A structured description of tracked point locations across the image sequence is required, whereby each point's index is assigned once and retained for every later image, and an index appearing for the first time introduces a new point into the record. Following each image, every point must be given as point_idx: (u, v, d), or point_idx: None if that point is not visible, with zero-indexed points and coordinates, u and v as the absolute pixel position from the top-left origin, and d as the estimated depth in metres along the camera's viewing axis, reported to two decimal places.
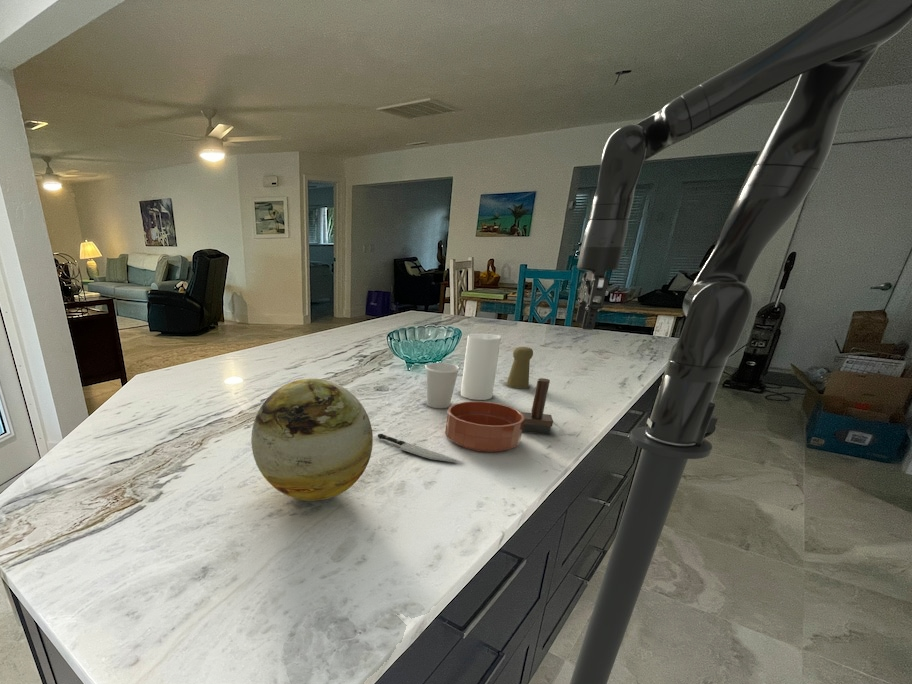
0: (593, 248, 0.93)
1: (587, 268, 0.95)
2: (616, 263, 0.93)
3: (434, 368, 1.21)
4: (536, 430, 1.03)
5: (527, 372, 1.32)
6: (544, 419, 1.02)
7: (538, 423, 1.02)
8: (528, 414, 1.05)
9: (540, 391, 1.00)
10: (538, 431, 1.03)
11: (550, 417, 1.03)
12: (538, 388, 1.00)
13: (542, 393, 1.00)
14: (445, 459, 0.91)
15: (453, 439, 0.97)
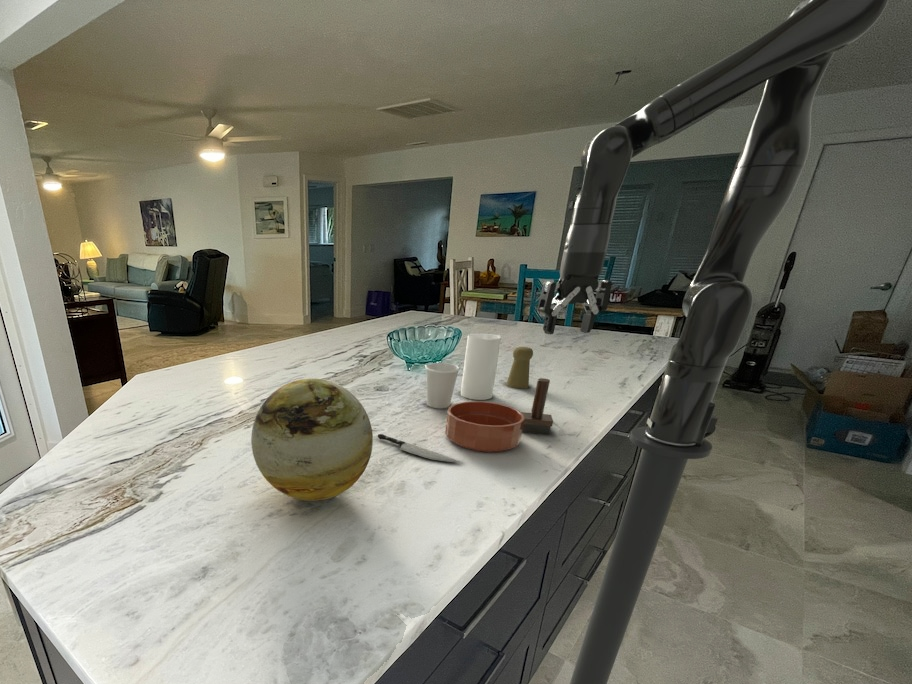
0: (563, 253, 0.94)
1: (559, 272, 0.95)
2: (578, 269, 0.91)
3: (434, 368, 1.21)
4: (536, 430, 1.03)
5: (527, 372, 1.32)
6: (544, 419, 1.02)
7: (538, 423, 1.02)
8: (528, 414, 1.05)
9: (540, 391, 1.00)
10: (538, 431, 1.03)
11: (550, 417, 1.03)
12: (538, 388, 1.00)
13: (542, 393, 1.00)
14: (445, 459, 0.91)
15: (453, 439, 0.97)
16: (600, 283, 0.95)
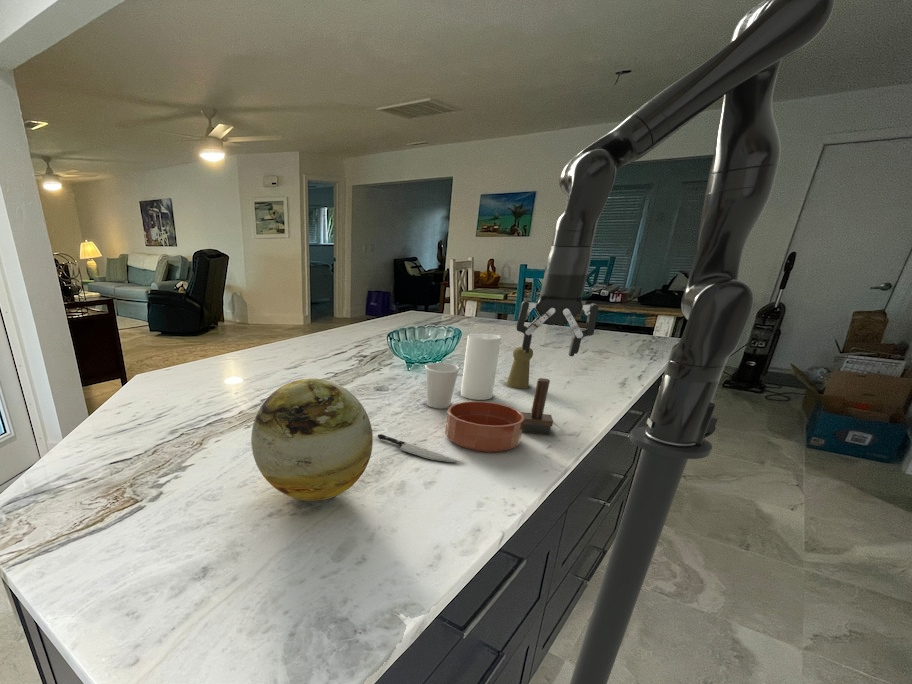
0: None
1: None
2: (549, 291, 0.91)
3: (434, 368, 1.21)
4: (536, 430, 1.03)
5: (527, 372, 1.32)
6: (544, 419, 1.02)
7: (538, 423, 1.02)
8: (528, 414, 1.05)
9: (540, 391, 1.00)
10: (538, 431, 1.03)
11: (550, 417, 1.03)
12: (538, 388, 1.00)
13: (542, 393, 1.00)
14: (445, 459, 0.91)
15: (453, 439, 0.97)
16: (586, 306, 0.92)
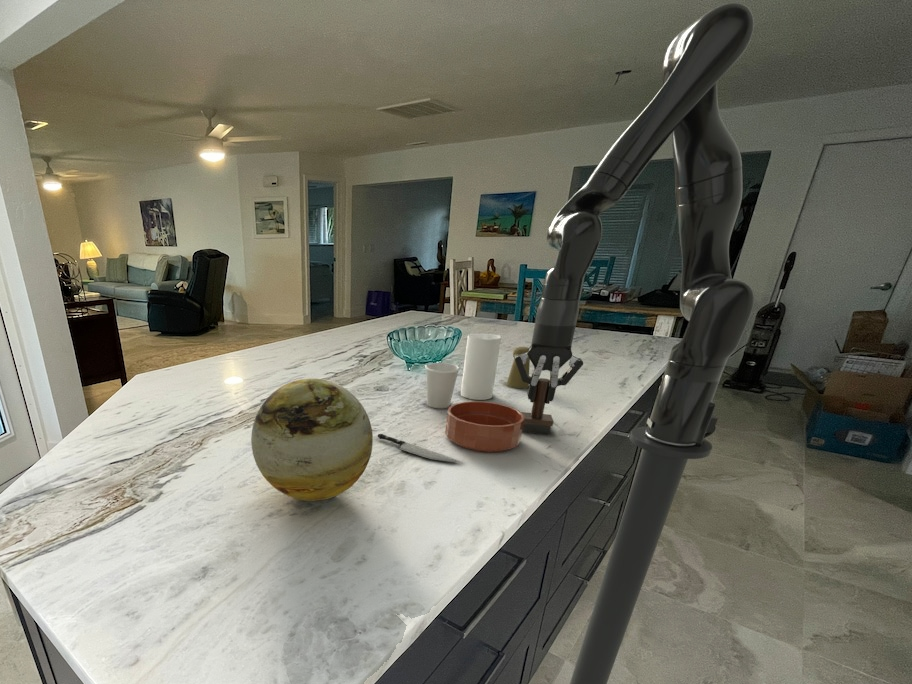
0: None
1: None
2: (540, 340, 0.95)
3: (434, 368, 1.21)
4: (536, 430, 1.03)
5: (527, 372, 1.32)
6: (544, 419, 1.02)
7: (538, 423, 1.02)
8: (528, 414, 1.05)
9: (540, 391, 1.00)
10: (538, 431, 1.03)
11: (550, 417, 1.03)
12: (538, 388, 1.00)
13: (542, 393, 1.00)
14: (445, 459, 0.91)
15: (453, 439, 0.97)
16: (574, 358, 0.96)
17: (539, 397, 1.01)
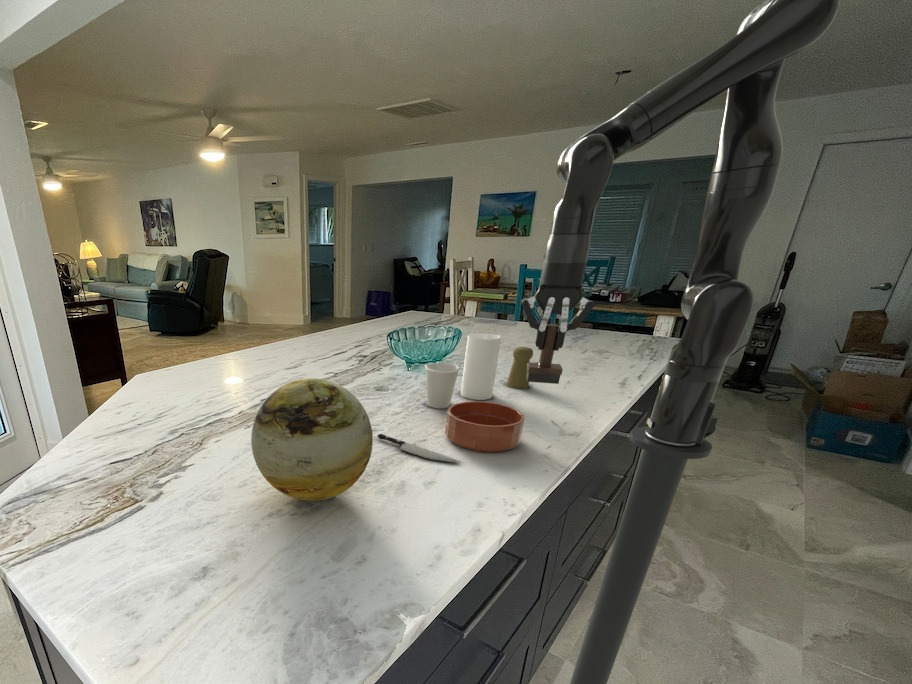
0: None
1: None
2: (548, 280, 0.90)
3: (434, 368, 1.21)
4: (545, 379, 0.98)
5: None
6: (553, 367, 0.97)
7: (547, 372, 0.97)
8: (536, 364, 1.00)
9: (549, 337, 0.95)
10: (547, 380, 0.98)
11: (559, 366, 0.98)
12: (547, 334, 0.95)
13: (551, 339, 0.95)
14: (445, 459, 0.91)
15: (453, 439, 0.97)
16: (584, 300, 0.91)
17: (548, 344, 0.96)
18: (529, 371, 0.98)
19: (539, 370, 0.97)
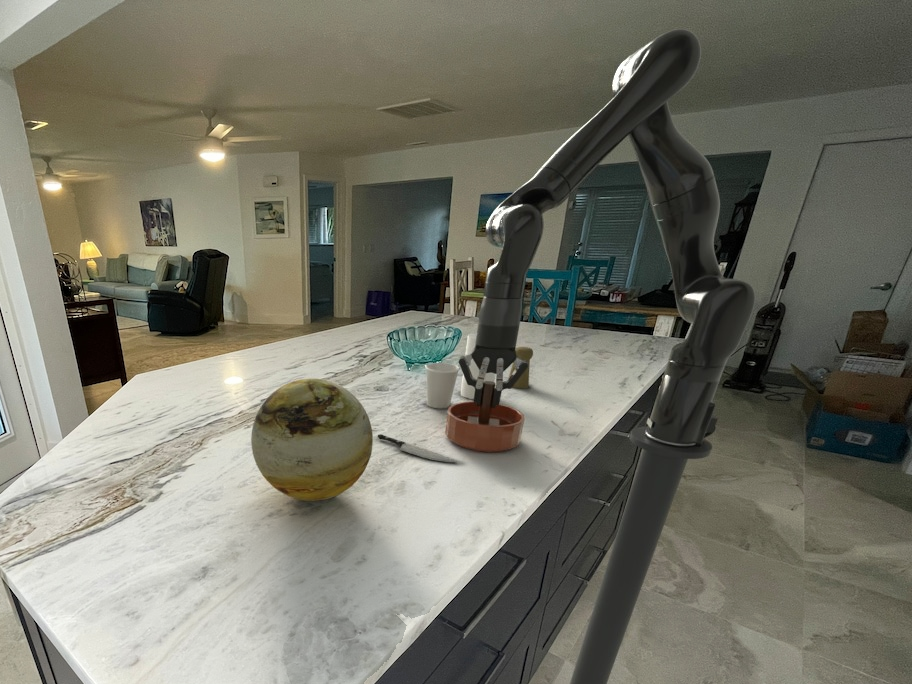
0: None
1: None
2: (482, 341, 0.90)
3: (434, 368, 1.21)
4: None
5: (527, 372, 1.32)
6: (490, 424, 0.97)
7: None
8: (475, 418, 1.00)
9: (486, 394, 0.95)
10: None
11: (497, 422, 0.98)
12: (483, 391, 0.96)
13: (487, 397, 0.95)
14: (445, 460, 0.91)
15: (453, 439, 0.97)
16: (518, 360, 0.91)
17: (484, 401, 0.96)
18: None
19: None
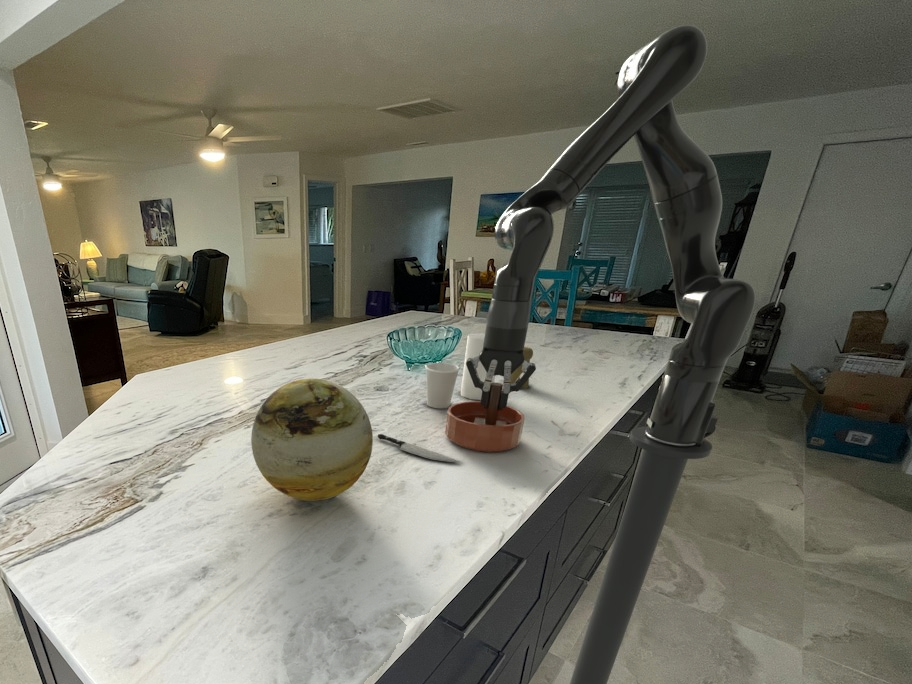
0: None
1: None
2: (490, 343, 0.90)
3: (434, 368, 1.21)
4: None
5: None
6: (497, 425, 0.97)
7: None
8: (482, 420, 1.00)
9: (493, 396, 0.95)
10: None
11: (504, 424, 0.98)
12: (490, 393, 0.95)
13: (494, 398, 0.95)
14: (445, 459, 0.91)
15: (453, 439, 0.97)
16: (526, 363, 0.91)
17: (491, 402, 0.96)
18: None
19: None
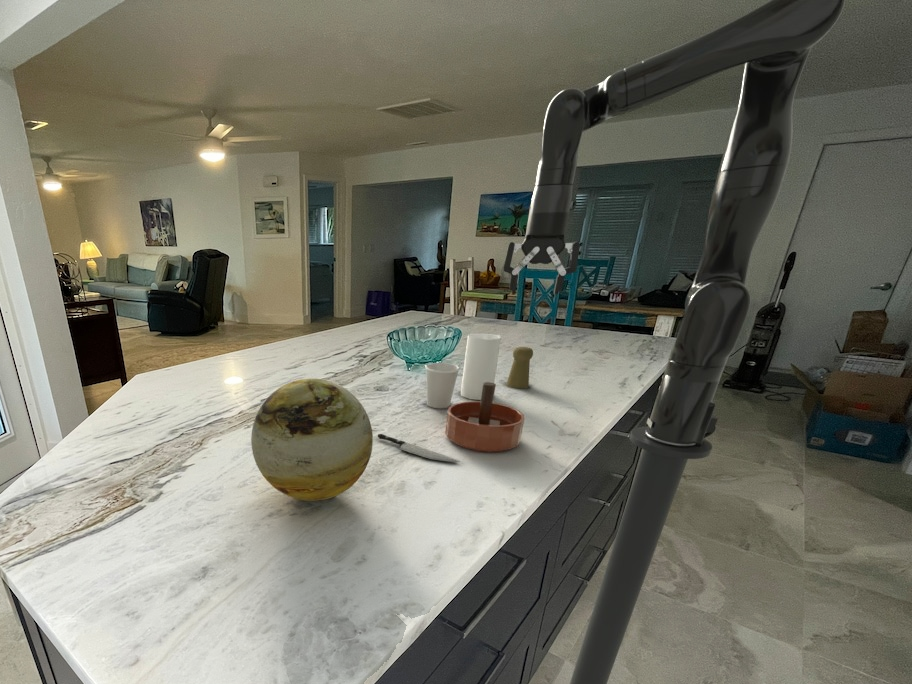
0: None
1: None
2: (533, 229, 0.96)
3: (434, 368, 1.21)
4: None
5: (527, 372, 1.32)
6: (490, 425, 0.97)
7: None
8: (476, 419, 1.00)
9: (485, 396, 0.95)
10: None
11: (498, 423, 0.98)
12: (483, 392, 0.96)
13: (487, 398, 0.95)
14: (445, 459, 0.91)
15: (453, 439, 0.97)
16: (568, 244, 0.97)
17: (484, 402, 0.96)
18: None
19: None
